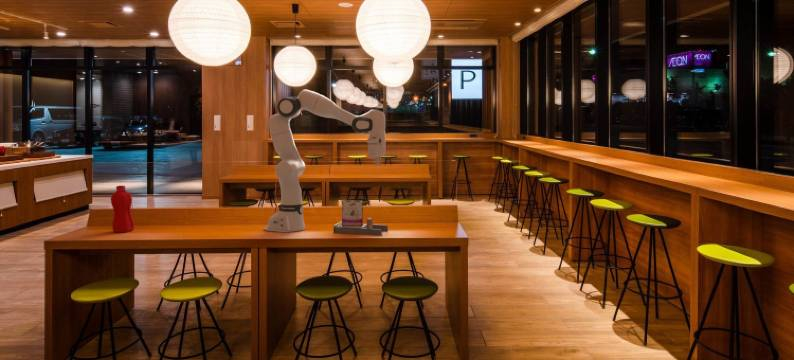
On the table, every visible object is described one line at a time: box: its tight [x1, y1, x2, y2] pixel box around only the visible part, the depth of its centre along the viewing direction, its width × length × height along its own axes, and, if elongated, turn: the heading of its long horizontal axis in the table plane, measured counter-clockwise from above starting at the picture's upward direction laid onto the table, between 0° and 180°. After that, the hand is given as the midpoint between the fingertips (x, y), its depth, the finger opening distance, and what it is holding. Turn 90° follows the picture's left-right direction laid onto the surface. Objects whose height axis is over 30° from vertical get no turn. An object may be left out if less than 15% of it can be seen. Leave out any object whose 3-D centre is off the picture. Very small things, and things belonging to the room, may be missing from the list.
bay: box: [333, 220, 389, 236], centre depth 284 cm, size 27×12×4 cm, turn 74°
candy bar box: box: [341, 200, 364, 227], centre depth 285 cm, size 11×5×16 cm, turn 98°
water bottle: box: [110, 185, 135, 233], centre depth 286 cm, size 9×11×25 cm
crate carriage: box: [336, 217, 373, 229], centre depth 284 cm, size 18×9×7 cm, turn 74°
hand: (377, 165), depth 288 cm, fingers closed
